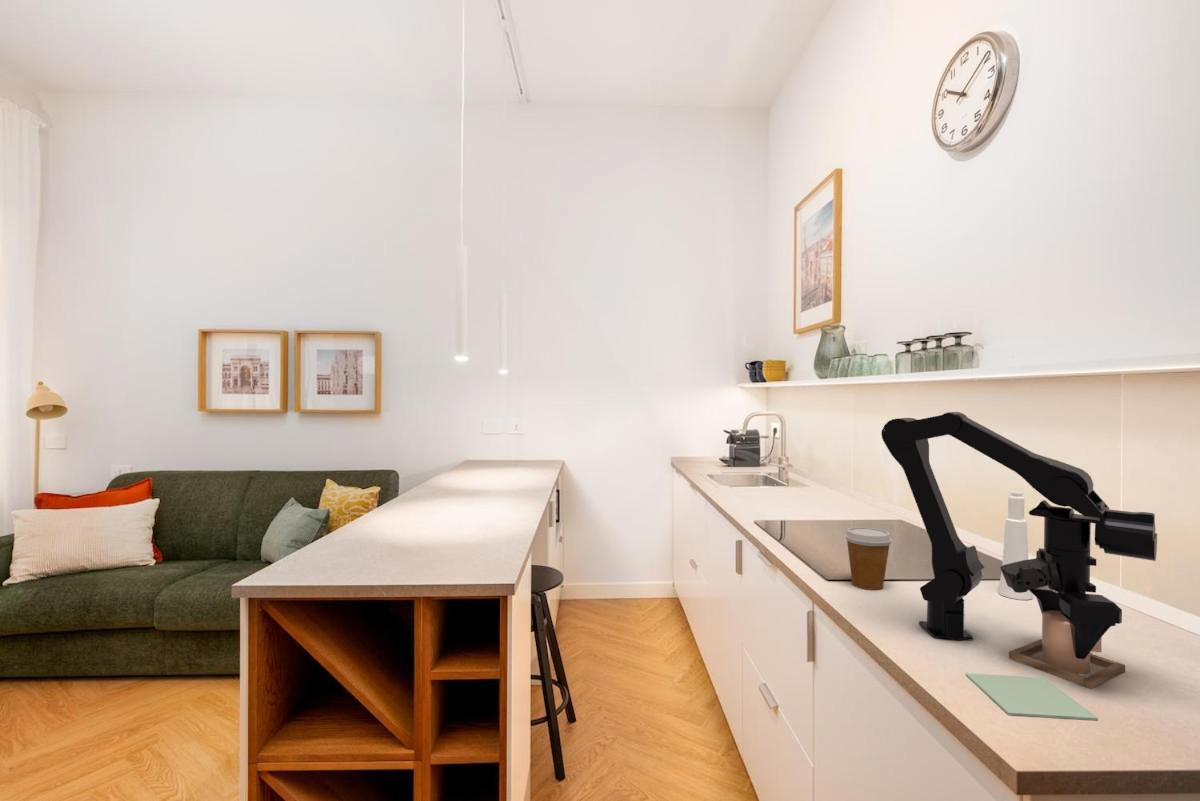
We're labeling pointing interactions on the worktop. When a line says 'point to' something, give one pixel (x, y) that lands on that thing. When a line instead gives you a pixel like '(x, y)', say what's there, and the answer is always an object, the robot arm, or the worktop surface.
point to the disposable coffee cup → (868, 556)
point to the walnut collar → (1090, 681)
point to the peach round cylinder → (1062, 644)
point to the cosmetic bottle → (1014, 542)
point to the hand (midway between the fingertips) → (1065, 645)
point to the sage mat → (1029, 696)
